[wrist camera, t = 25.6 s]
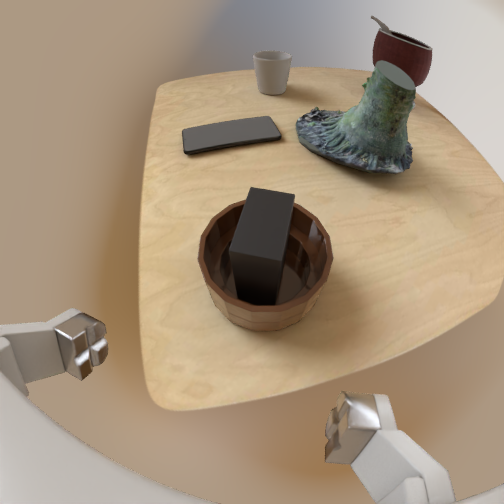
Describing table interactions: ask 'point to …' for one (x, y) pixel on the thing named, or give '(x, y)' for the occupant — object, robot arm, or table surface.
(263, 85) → the cup
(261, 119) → the smartphone
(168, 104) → the table surface
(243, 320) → the bowl
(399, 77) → the tree stump
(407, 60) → the mate gourd
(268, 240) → the case
